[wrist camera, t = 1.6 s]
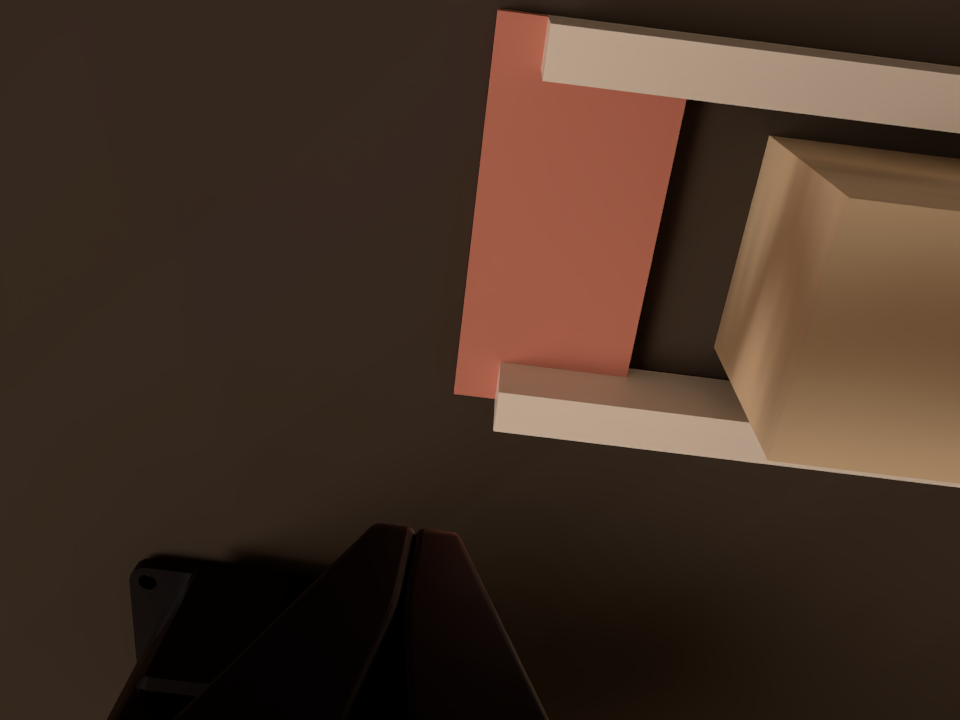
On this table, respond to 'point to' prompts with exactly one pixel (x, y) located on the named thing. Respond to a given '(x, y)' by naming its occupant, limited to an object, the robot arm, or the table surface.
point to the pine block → (850, 310)
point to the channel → (625, 215)
